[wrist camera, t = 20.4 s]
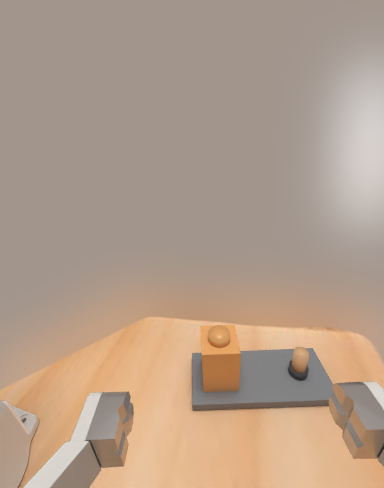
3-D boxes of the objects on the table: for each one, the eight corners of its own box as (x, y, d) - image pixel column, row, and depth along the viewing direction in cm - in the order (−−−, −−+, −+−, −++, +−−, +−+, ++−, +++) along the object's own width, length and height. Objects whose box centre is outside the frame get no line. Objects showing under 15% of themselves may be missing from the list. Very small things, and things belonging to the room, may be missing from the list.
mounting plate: (193, 410, 39) (190, 385, 36) (192, 358, 48) (190, 334, 46) (339, 405, 39) (348, 378, 36) (311, 353, 48) (316, 329, 45)
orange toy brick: (203, 392, 40) (201, 349, 36) (202, 361, 46) (200, 321, 42) (238, 390, 40) (241, 347, 36) (233, 360, 46) (234, 319, 41)
